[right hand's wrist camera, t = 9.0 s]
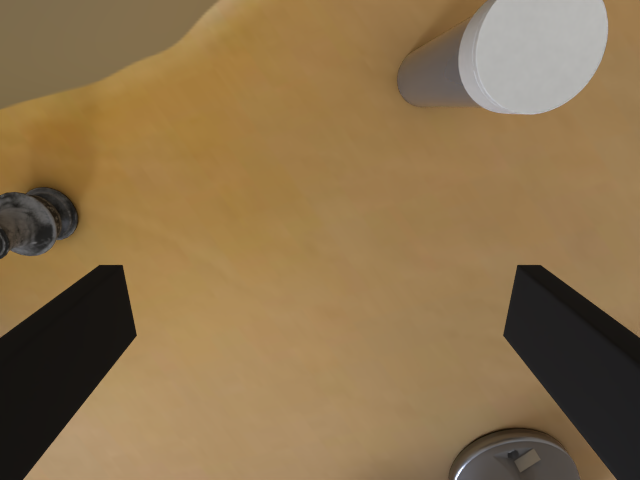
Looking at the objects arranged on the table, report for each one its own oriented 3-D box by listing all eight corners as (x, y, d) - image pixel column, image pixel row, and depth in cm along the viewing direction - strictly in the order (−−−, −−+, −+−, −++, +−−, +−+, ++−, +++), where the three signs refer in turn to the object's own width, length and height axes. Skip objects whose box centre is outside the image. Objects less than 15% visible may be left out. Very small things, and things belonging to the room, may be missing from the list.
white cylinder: (565, 108, 18) (596, 108, 16) (455, 118, 18) (472, 119, 16) (582, -20, 16) (619, -38, 14) (460, -9, 16) (480, -25, 14)
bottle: (451, 104, 33) (584, 103, 16) (397, 109, 33) (474, 112, 16) (454, 44, 31) (604, -26, 15) (396, 49, 31) (481, -15, 15)
